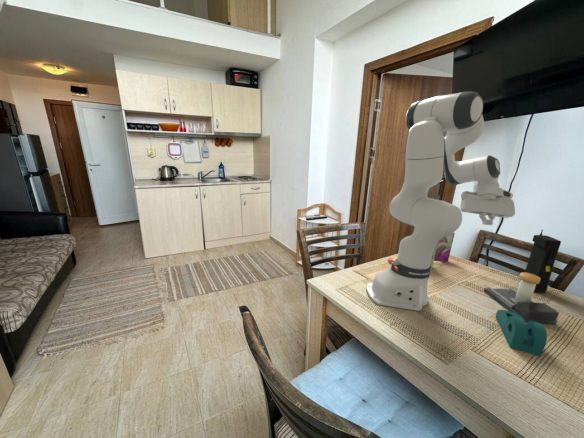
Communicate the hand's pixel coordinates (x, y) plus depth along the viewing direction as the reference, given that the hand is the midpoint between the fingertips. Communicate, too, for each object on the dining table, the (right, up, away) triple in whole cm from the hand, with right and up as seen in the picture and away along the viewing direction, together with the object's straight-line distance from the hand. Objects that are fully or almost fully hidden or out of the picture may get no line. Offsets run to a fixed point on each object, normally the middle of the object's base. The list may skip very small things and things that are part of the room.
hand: (487, 224), depth 100 cm
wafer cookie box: (-6, -19, +27) cm, 34 cm away
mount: (+1, -30, -11) cm, 32 cm away
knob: (+1, -29, -13) cm, 32 cm away
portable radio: (+20, -27, +1) cm, 34 cm away
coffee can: (-17, -21, +20) cm, 34 cm away
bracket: (-11, -34, -24) cm, 43 cm away
